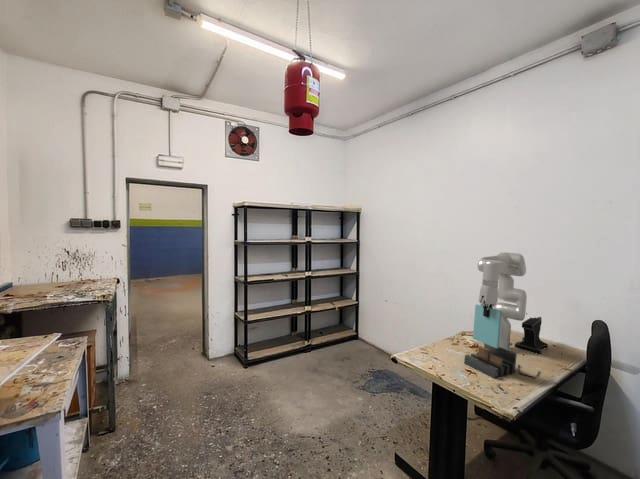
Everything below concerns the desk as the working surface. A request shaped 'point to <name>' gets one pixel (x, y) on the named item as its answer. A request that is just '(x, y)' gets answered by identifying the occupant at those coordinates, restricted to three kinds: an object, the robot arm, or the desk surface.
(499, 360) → the oak offcut
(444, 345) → the desk surface
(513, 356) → the offcut rack
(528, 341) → the anvil
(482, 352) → the walnut offcut
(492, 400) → the desk surface
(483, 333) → the tall sheet
